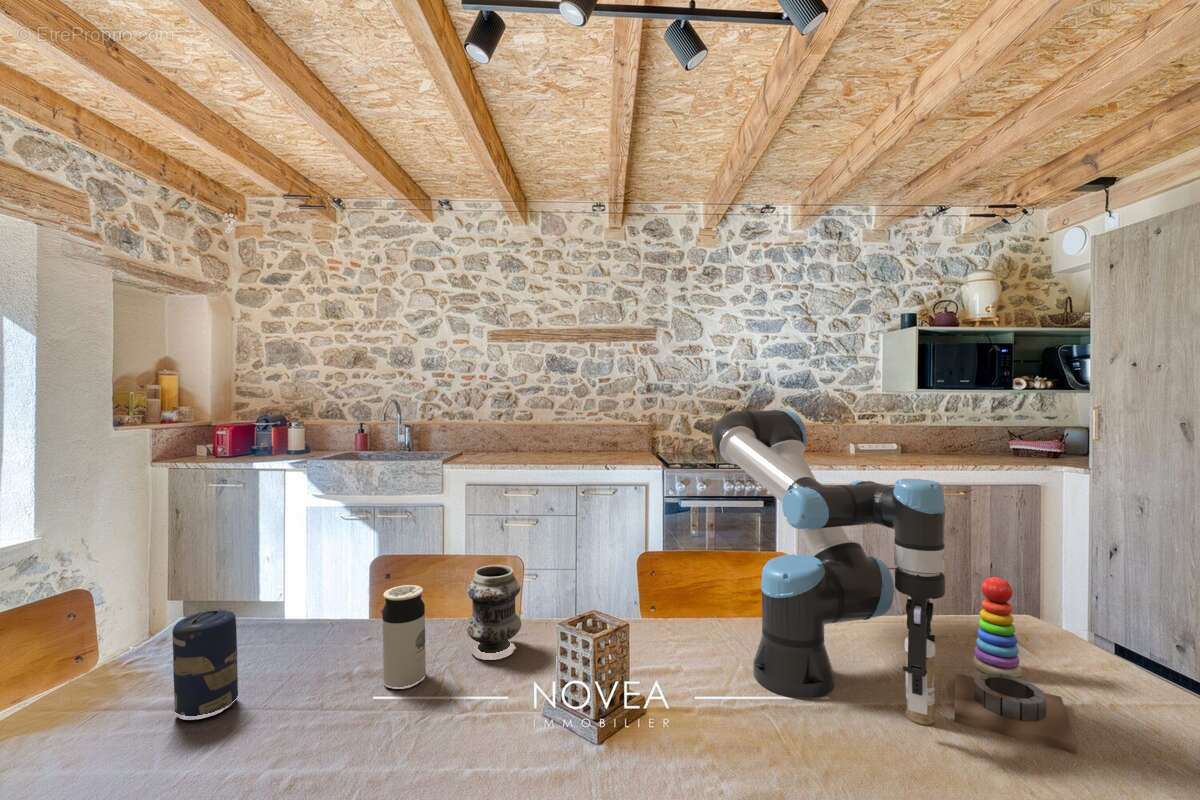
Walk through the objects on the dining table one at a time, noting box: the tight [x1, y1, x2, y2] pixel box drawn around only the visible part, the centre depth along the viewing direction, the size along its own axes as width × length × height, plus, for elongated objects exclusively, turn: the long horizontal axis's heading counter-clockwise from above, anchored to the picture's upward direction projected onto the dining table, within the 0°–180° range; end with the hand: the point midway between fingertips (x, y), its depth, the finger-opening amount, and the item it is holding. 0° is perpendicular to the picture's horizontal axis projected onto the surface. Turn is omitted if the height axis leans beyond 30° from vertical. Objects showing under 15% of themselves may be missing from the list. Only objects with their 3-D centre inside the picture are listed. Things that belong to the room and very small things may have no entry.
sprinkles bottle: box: [904, 636, 936, 726], centre depth 96 cm, size 5×5×14 cm
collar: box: [973, 672, 1046, 722], centre depth 97 cm, size 10×10×3 cm
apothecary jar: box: [465, 564, 522, 653], centre depth 122 cm, size 12×12×18 cm
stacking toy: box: [972, 576, 1023, 678], centre depth 111 cm, size 8×8×19 cm
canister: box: [172, 609, 239, 716], centre depth 100 cm, size 10×10×18 cm
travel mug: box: [381, 584, 427, 687], centre depth 110 cm, size 8×8×18 cm
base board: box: [954, 672, 1078, 755], centre depth 97 cm, size 16×16×2 cm
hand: (920, 693), depth 95 cm, fingers open, 12 cm apart
